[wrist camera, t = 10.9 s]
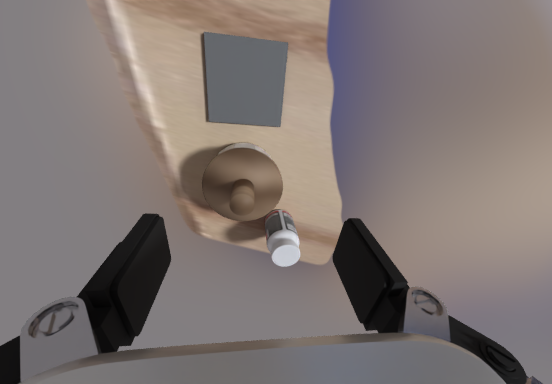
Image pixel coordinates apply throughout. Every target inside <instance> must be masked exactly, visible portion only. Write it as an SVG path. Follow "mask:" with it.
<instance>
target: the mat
mask: <svg viewBox="0 0 552 384" xmlns="http://www.w3.org/2000/svg"><path fill="white" fill-rule="evenodd" d="M204 43H205V60H206V78H207V95H208V112H209V122H223V123H236V124H250V125H264V126H277V127H280V126H281V115H282V104H283V94H284V83H285V72H286V62H287V51H288V43H287V42H279V41H271V40H264V39H256V38H248V37H240V36H233V35H225V34H217V33H209V32H204Z"/></svg>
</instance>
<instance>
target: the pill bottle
mask: <svg viewBox="0 0 552 384" xmlns="http://www.w3.org/2000/svg"><path fill="white" fill-rule="evenodd" d="M265 231H266V240H267V247H268V250H269V251H270V253H271V256H272V260H273V262H274V263H275V264H277V265H279V266H284V267H285V266H290V265H293V264H294V263H296V262H297V261H298V260H299V258H300V250H299V237H298V234H297V231H296V228H295V225H294V222H293V219H292V216H291V215H290V214H289V213H288V212H287V211H284V210H275V211H272V212H271V213H269V214H268V215H267V217H266V219H265Z"/></svg>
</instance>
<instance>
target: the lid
mask: <svg viewBox="0 0 552 384" xmlns="http://www.w3.org/2000/svg"><path fill="white" fill-rule="evenodd" d="M202 189H203V194H204V197H205V199H206V201H207V202H208V204H209V205H210V206H211V208H212V209H213V210H214V211H216V212H217V213H218V214H220V215H222V216H223V217H226V218H228V219H231V220H236V221H251V220H255V219H258V218H261V217H263V216H265V215H267V214H268V213H269V212H271V211H272V210H273V209H274V208H275V207H276V205H277V204H278V202H279V200H280V198H281V195H282V190H283V182H282V177H281V174H280V171H279V169H278V167H277V165H276V164H275V163H274V161H273V160H272V159H271V158H270V157H268V156H267V155H266V154H264V153H262V152H260V151H258V150H255V149H251V148H244V147H241V148H232V149H229V150H226V151H224V152H222V153H220V154H218V155H217V156H216V157H215V158H214V159H213V160H212V161H211V162H210V163H209V165H208V166H207V168H206V170H205V172H204V175H203V180H202Z"/></svg>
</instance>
